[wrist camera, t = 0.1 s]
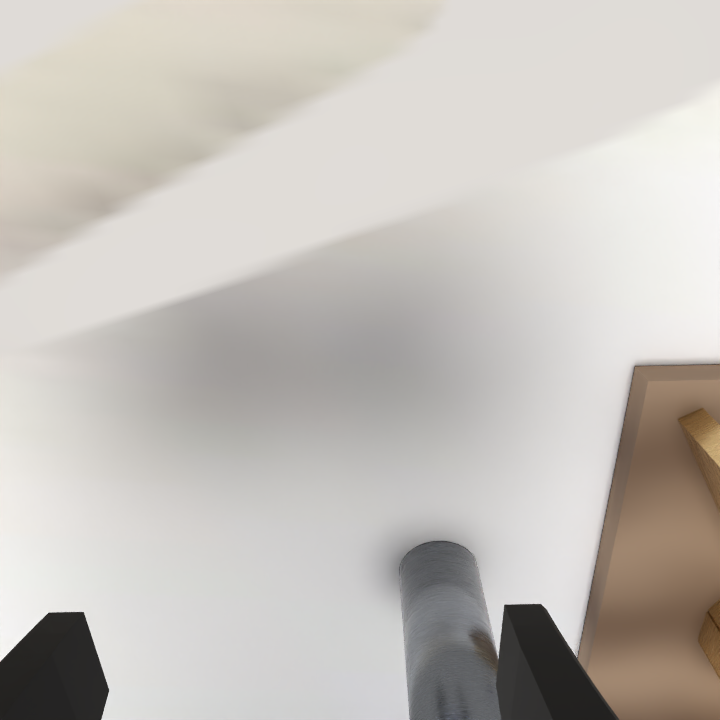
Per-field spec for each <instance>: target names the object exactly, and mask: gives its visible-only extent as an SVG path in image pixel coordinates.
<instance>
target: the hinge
mask: <svg viewBox="0 0 720 720" xmlns="http://www.w3.org/2000/svg"><path fill="white" fill-rule="evenodd" d="M678 422H679V424H680V426H681V428H682V431H683V433H684V435H685V437H686V440H687V442H688V444H689V446H690V448H691V451H692V453H693V455H694V457H695V460H696V462H697V464H698V466H699V469H700V471H701V473H702V475H703V478H704V480H705V482H706V484H707V487H708V489H709V491H710V493H711V495H712V498H713V500H714V502H715V504H716V507H717V509H718V511H719V513H720V425H719V424H718V423H717V422H716V421H715V420H714V419H713V418H712V417H711V416H710V415H709V414H708V413H707V412H706V411H705V410H704V409H703V408H700V409H698V410H696V411H694V412H692V413H689V414H687V415H685V416H683V417H681V418H678ZM708 611H709V612H706V615H705V618H704V621H703V624H702V627H701V630H700V633H699V637H698V642H699V644H700V646H701V648H702V650H703V652H704V654H705V655H706V657H707V659H708V661H709V663H710V665H711V666H712V668H713V670H714V672H715V673H716V675H717V677H718V679H719V680H720V599H719V600H718V601H717V602H716V603H715V604H714V605H713V606H711V607H710V608H709V609H708Z"/></svg>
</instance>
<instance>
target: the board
mask: <svg viewBox="0 0 720 720" xmlns="http://www.w3.org/2000/svg"><path fill="white" fill-rule="evenodd" d="M700 408H703V409H704V410H705V411H706V412H707V413H708V414H709V415H710V416H711V417H712V418H713V419H714V420H715V421H716V422H717V423H718V424H719V425H720V364H718V365H673V366H635V369H634V374H633V379H632V384H631V390H630V395H629V400H628V405H627V410H626V415H625V420H624V425H623V430H622V435H621V440H620V445H619V451H618V456H617V461H616V466H615V471H614V476H613V481H612V486H611V491H610V496H609V501H608V506H607V511H606V517H605V522H604V527H603V532H602V537H601V542H600V547H599V552H598V557H597V562H596V567H595V572H594V578H593V583H592V588H591V593H590V598H589V603H588V608H587V613H586V618H585V623H584V628H583V633H582V639H581V644H580V649H579V654H578V661H579V662H580V664H581V665H582V667H583V668H584V670H585V671H586V673H587V674H588V676H589V677H590V679H591V680H592V682H593V683H594V685H595V686H596V688H597V689H598V690H599V692H600V693H601V695H602V696H603V698H604V699H605V700H606V702H607V703H608V705H609V706H610V707H611V709H612V710H613V711H614V713H615V714H616V716H617V717H618V718H619V720H720V680H719V679H718V677H717V675H716V673H715V672H714V670H713V668H712V666H711V665H710V663H709V661H708V659H707V657H706V655H705V654H704V652H703V650H702V648H701V646H700V644H699V642H698V637H699V633H700V630H701V627H702V624H703V621H704V618H705V615H706V612H709V611H708V609H709V608H710V607H711V606H713V605H714V604H715V603H716V602H717V601H718V600H719V599H720V513H719V511H718V509H717V507H716V504H715V502H714V500H713V498H712V495H711V493H710V491H709V489H708V487H707V484H706V482H705V480H704V478H703V475H702V473H701V471H700V469H699V466H698V464H697V462H696V460H695V457H694V455H693V453H692V451H691V448H690V446H689V444H688V442H687V440H686V437H685V435H684V433H683V431H682V428H681V426H680V424H679V422H678V418H681V417H683V416H685V415H687V414H689V413H692V412H694V411H696V410H698V409H700Z"/></svg>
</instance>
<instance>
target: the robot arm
mask: <svg viewBox="0 0 720 720" xmlns="http://www.w3.org/2000/svg"><path fill="white" fill-rule="evenodd" d="M496 689H497V695H498V702H499V708H500V714H501V720H619V718H618V717H617V716H616V714H615V713H614V711H613V710H612V709H611V707H610V706H609V705H608V703H607V702H606V700H605V699H604V698H603V696H602V695H601V693H600V692H599V690H598V689H597V688H596V686H595V685H594V683H593V682H592V680H591V679H590V677H589V676H588V674H587V673H586V671H585V670H584V668H583V667H582V665H581V664H580V662H579V661H578V659H577V658H576V656H575V655H574V653H573V652H572V650H571V649H570V647H569V646H568V644H567V642H566V641H565V639H564V638H563V636H562V634H561V633H560V631H559V630H558V628H557V626H556V625H555V623H554V621H553V620H552V618H551V616H550V615H549V613H548V611H547V610H546V608H544V607H543V606H542V605H541V604H519V605H504V613H503V623H502V632H501V641H500V650H499V660H498V669H497V678H496ZM108 693H109V688H108V685H107V682H106V679H105V676H104V673H103V670H102V667H101V664H100V661H99V658H98V655H97V652H96V649H95V645H94V642H93V639H92V636H91V633H90V630H89V627H88V624H87V621H86V618H85V615H84V612H57V613H48V614H47V615H46V616H45V617H44V618H43V619H42V620H41V621H40V622H39V623H38V624H37V625H36V626H35V627H34V628H33V629H32V630H31V631H30V632H29V633H28V634H27V635H26V636H25V637H24V638H23V639H22V640H21V641H20V642H19V643H18V644H17V645H16V646H15V647H14V648H13V649H12V650H11V651H10V652H9V653H8V654H7V655H6V656H5V657H4V658H3V659H2V660H1V662H0V720H101V718H102V715H103V711H104V707H105V704H106V700H107V696H108Z"/></svg>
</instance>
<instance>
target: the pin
mask: <svg viewBox="0 0 720 720" xmlns="http://www.w3.org/2000/svg"><path fill="white" fill-rule="evenodd" d="M399 575H400V589H401V603H402V617H403V631H404V645H405V659H406V673H407V687H408V701H409V715H410V720H501V714H500V708H499V702H498V695H497V689H496V678H497V669H498V660H499V659H498V655H497V651H496V646H495V642H494V637H493V633H492V629H491V624H490V620H489V615H488V611H487V607H486V602H485V598H484V593H483V589H482V585H481V580H480V576H479V571H478V567H477V563H476V560H475V558H474V556H473V555H472V554H471V553H470V552H469V551H468V550H467V549H465V548H464V547H462V546H460V545H458V544H455V543H451V542H445V541H437V542H429V543H426V544H422V545H420V546H418V547H416V548H414V549H413V550H411V551H410V552H409V553H408V554H407V555H406V556H405V557H404V559H403V560H402V562H401V564H400V569H399Z"/></svg>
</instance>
